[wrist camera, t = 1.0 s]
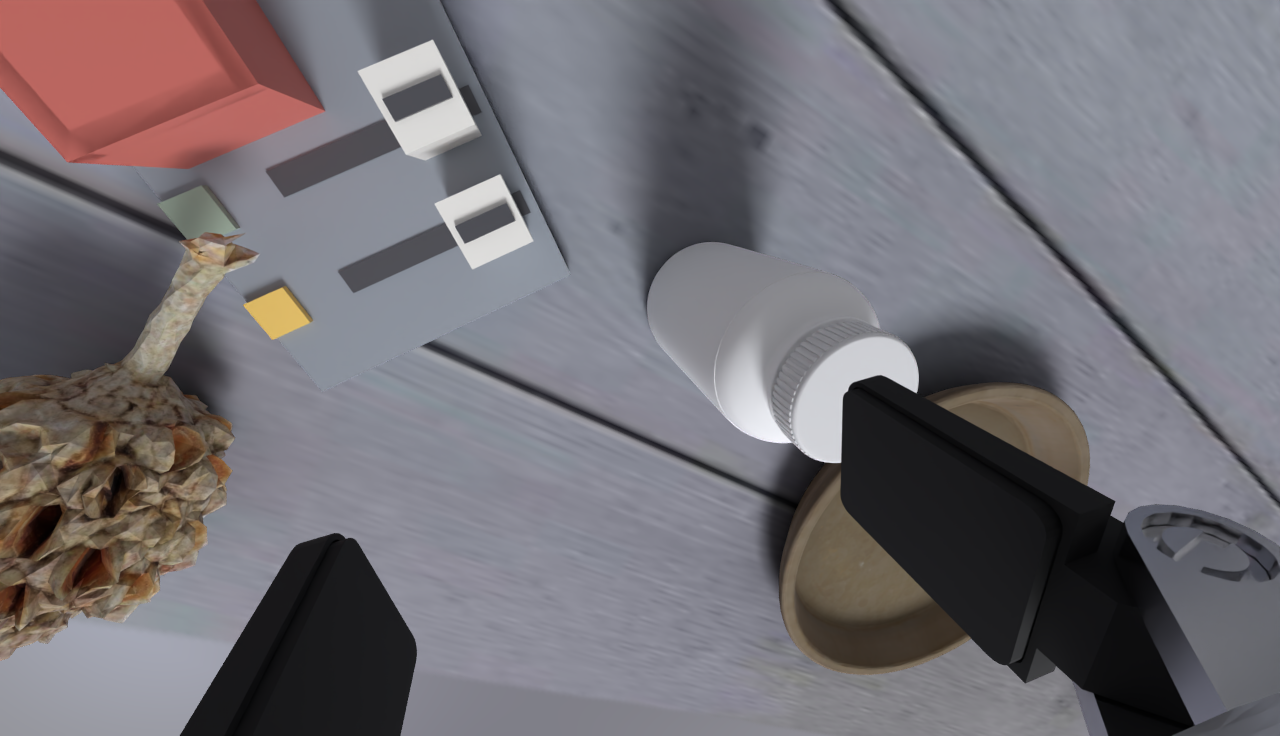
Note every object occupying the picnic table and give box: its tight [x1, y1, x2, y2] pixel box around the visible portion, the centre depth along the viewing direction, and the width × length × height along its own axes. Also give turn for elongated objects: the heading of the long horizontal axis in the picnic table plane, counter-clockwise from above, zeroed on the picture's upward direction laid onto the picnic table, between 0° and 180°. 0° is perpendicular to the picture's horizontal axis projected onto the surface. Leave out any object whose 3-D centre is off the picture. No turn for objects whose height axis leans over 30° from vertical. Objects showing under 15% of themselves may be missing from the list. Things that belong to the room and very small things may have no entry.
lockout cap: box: [0, 0, 325, 169], centre depth 16 cm, size 6×6×6 cm
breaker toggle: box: [435, 175, 533, 270], centre depth 21 cm, size 3×3×4 cm
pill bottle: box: [647, 242, 919, 463], centre depth 23 cm, size 8×8×15 cm
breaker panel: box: [132, 0, 571, 392], centre depth 20 cm, size 15×18×6 cm
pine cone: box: [0, 232, 260, 661], centre depth 19 cm, size 22×10×10 cm, turn 146°
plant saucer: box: [779, 382, 1090, 675], centre depth 41 cm, size 31×31×5 cm
